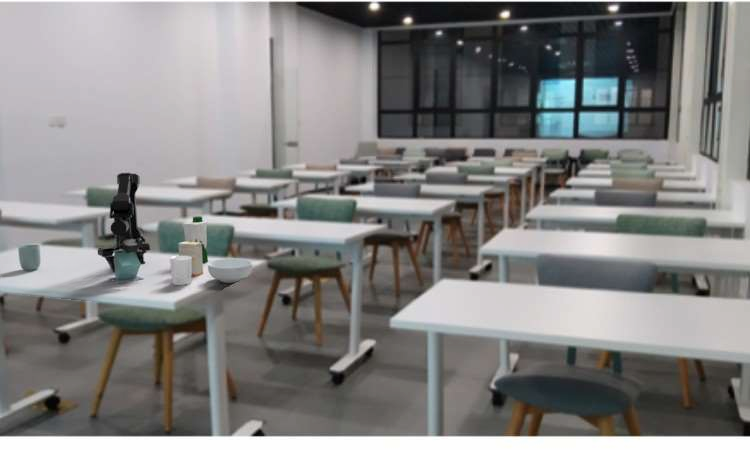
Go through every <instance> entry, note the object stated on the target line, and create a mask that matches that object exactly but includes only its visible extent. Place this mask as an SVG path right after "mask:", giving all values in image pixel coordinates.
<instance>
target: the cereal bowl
mask: <svg viewBox="0 0 750 450" xmlns="http://www.w3.org/2000/svg"><path fill="white" fill-rule="evenodd" d="M207 269H208V273H209V275H210V276H211V278H213V279H215V280H218V281H220V282H221V283H227V284H229V283H230V284H232V283H233V284H234V283H237V282H240V281H242V280H244V279H245V278H248V276H250V275H251V274H252V271H253V262H252V261H251V260H248V259H244V258H221V259H216V260H212V261H209V262H207Z"/></svg>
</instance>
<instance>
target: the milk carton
mask: <svg viewBox="0 0 750 450" xmlns="http://www.w3.org/2000/svg"><path fill="white" fill-rule="evenodd" d="M181 225H182V227H183V232H184V242H185V241H187V242H202V261H203V264H204V263H209V259H208V258H209V257H208V244H207V243H208V241H207V228H208V227H207V226H208V221H204V220H203V216H201V215H199V216H193V217H192V220H190V221H186V222H182V223H181Z"/></svg>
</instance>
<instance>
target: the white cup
mask: <svg viewBox="0 0 750 450" xmlns="http://www.w3.org/2000/svg"><path fill="white" fill-rule="evenodd" d="M169 262H170V271H171V278H172V284H173V285H175V286H185V284H186V285H189V283H190V284H191V283H192V275H191V271H192V257H191V256H179V255H176V256H171V257H170V258H169Z"/></svg>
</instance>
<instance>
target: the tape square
mask: <svg viewBox="0 0 750 450" xmlns="http://www.w3.org/2000/svg"><path fill="white" fill-rule="evenodd" d="M107 279H108V280H109V281H112V282H114V283H117V284H124V283H129V282H130V283H131V282H135V281H140V280H144V278H143V277H140V276H138V275H137V276H136V277H134V278H128V279H120V280H117V279H116V277H108V278H107Z"/></svg>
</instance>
